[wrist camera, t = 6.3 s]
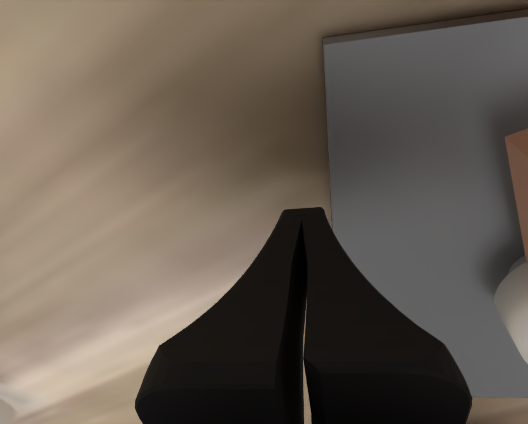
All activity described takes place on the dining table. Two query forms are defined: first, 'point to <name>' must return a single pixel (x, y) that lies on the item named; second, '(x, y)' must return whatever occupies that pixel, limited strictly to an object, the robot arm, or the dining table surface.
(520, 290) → the ball on stick
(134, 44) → the dining table surface
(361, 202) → the flat gray plate
